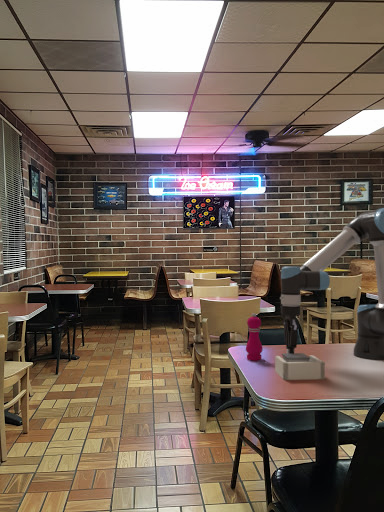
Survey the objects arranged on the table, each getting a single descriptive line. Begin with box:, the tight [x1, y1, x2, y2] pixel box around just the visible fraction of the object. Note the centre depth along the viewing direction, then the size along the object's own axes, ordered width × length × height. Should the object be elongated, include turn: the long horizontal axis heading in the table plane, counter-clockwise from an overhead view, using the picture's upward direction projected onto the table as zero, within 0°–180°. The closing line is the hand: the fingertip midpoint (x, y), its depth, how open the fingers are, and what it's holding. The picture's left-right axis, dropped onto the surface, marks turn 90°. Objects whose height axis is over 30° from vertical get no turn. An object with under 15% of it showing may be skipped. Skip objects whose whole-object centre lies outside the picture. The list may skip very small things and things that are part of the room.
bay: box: [274, 354, 326, 381], centre depth 158 cm, size 15×12×6 cm
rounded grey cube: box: [281, 352, 310, 362], centre depth 162 cm, size 8×7×7 cm
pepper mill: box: [245, 312, 263, 362], centre depth 184 cm, size 7×7×20 cm
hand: (290, 364), depth 168 cm, fingers closed
